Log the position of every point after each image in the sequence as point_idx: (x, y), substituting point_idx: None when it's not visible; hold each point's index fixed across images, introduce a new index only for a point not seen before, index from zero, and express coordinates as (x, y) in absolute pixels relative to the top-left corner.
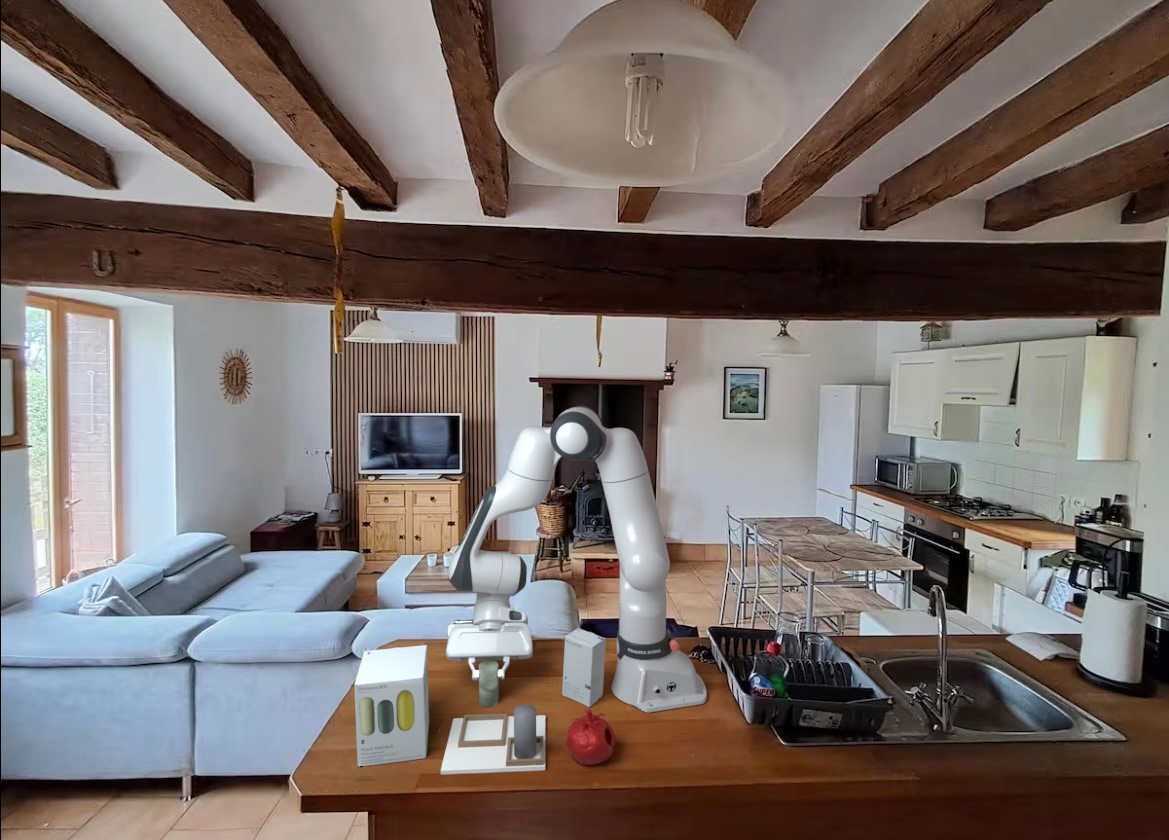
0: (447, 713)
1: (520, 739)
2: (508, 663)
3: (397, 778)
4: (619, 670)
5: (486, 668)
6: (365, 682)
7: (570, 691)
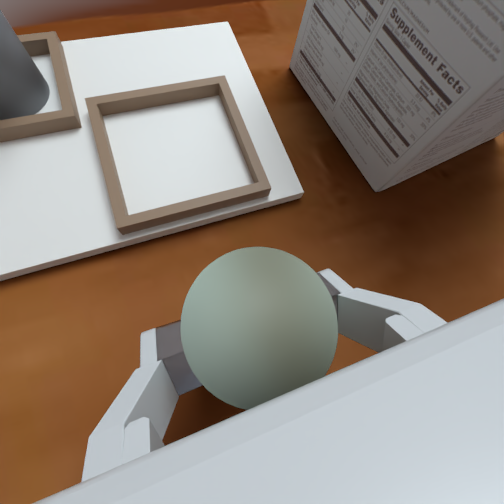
0: (342, 231)
1: None
2: (104, 426)
3: None
4: None
5: (254, 271)
6: None
7: None
